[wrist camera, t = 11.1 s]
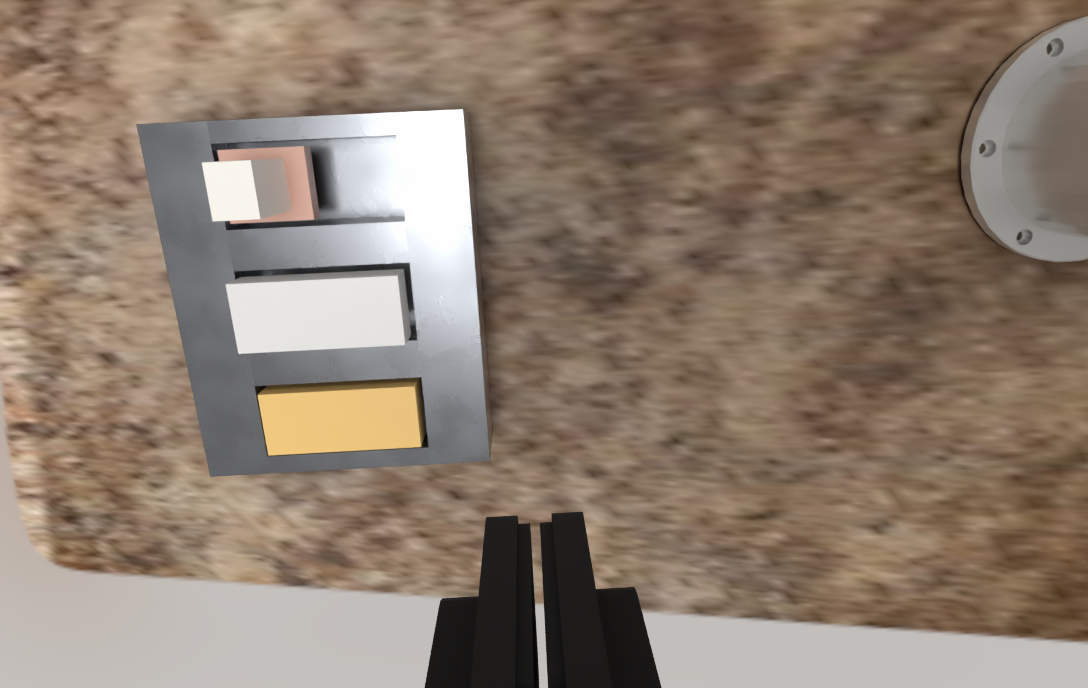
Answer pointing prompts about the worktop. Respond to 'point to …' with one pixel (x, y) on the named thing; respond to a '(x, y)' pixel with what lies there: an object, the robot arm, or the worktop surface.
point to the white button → (319, 311)
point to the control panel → (323, 247)
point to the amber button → (342, 416)
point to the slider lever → (262, 185)
